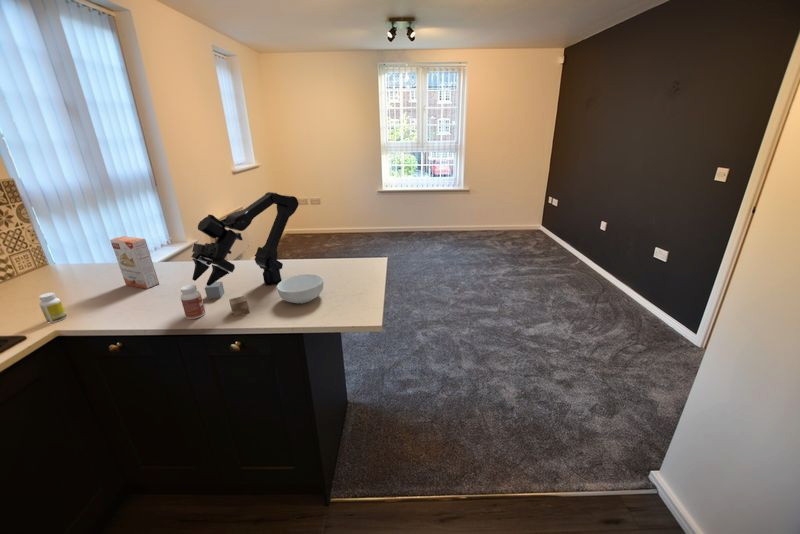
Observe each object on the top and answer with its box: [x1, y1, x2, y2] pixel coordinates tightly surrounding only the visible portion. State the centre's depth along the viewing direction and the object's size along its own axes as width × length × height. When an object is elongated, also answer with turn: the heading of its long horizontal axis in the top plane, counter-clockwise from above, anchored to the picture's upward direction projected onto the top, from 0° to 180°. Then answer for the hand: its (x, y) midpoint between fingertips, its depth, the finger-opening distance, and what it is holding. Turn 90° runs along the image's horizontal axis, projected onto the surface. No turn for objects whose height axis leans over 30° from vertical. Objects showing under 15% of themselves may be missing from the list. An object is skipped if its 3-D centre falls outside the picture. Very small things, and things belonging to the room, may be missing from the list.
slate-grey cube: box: [204, 281, 225, 300], centre depth 140 cm, size 5×5×5 cm
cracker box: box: [109, 235, 160, 290], centre depth 150 cm, size 14×6×21 cm, turn 68°
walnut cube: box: [228, 295, 250, 318], centre depth 126 cm, size 5×5×5 cm
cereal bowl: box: [276, 273, 324, 304], centre depth 135 cm, size 17×17×7 cm
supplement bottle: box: [38, 292, 68, 323], centre depth 125 cm, size 5×5×10 cm
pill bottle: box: [180, 284, 206, 320], centre depth 124 cm, size 6×6×11 cm
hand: (200, 282), depth 126 cm, fingers open, 9 cm apart
